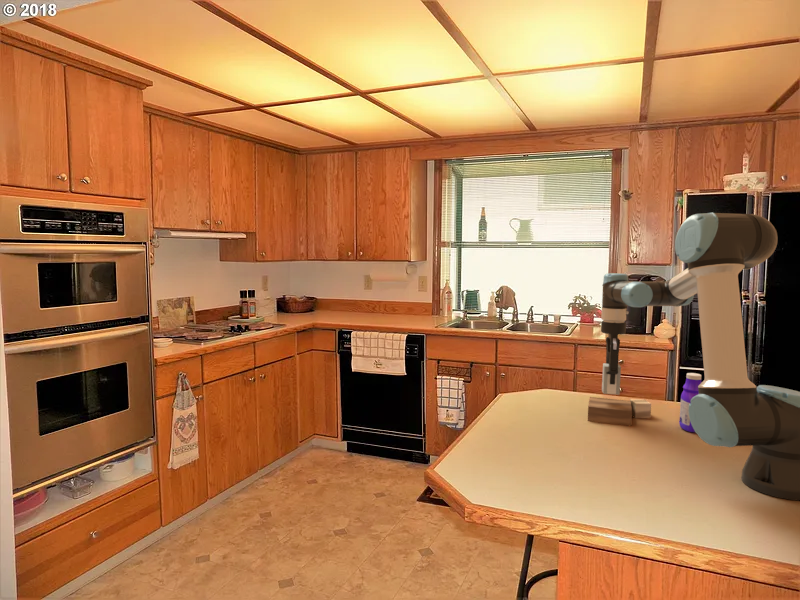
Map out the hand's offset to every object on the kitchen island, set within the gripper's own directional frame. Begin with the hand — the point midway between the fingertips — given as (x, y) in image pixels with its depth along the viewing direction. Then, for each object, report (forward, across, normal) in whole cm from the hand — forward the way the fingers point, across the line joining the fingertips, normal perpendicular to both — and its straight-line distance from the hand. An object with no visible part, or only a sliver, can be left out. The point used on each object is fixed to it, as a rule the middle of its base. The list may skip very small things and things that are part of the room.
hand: (610, 391), depth 182 cm
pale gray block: (0, 0, 0) cm, 0 cm away
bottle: (+9, -6, -23) cm, 25 cm away
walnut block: (+9, 0, 0) cm, 9 cm away
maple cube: (+9, +5, -10) cm, 14 cm away
